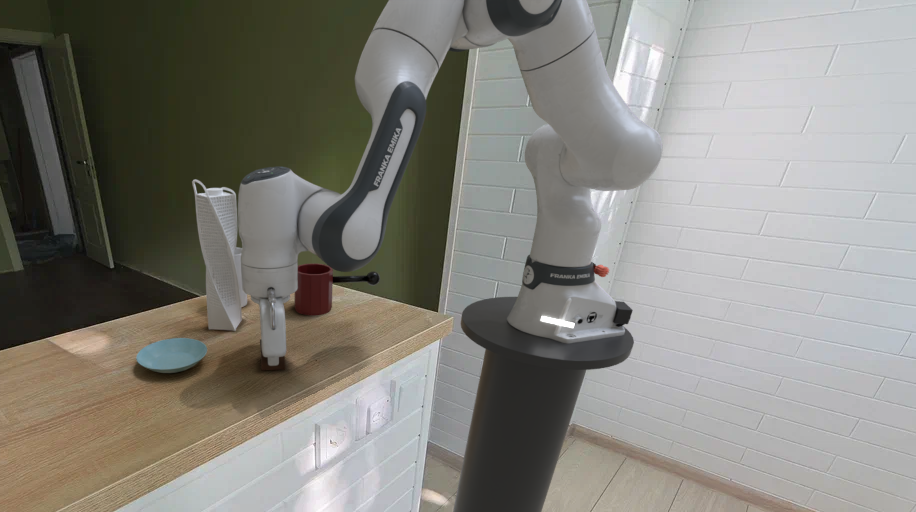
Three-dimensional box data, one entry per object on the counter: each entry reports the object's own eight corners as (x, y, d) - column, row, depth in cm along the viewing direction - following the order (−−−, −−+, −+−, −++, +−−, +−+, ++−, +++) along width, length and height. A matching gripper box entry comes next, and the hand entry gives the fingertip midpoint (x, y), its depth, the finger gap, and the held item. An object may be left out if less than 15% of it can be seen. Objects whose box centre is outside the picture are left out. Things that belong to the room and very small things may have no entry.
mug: (224, 297, 112) (220, 246, 106) (252, 299, 111) (249, 247, 105) (208, 314, 103) (203, 259, 97) (238, 316, 102) (235, 260, 96)
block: (283, 358, 85) (283, 338, 83) (285, 369, 81) (284, 348, 79) (260, 359, 84) (259, 339, 83) (261, 370, 81) (260, 349, 79)
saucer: (131, 382, 77) (129, 370, 76) (145, 350, 88) (143, 338, 87) (205, 379, 78) (204, 367, 77) (210, 347, 89) (209, 336, 88)
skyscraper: (199, 331, 95) (183, 181, 82) (211, 316, 102) (198, 176, 89) (238, 333, 94) (228, 182, 81) (248, 318, 101) (240, 177, 88)
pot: (373, 299, 111) (376, 261, 106) (382, 313, 104) (385, 272, 99) (293, 302, 109) (293, 263, 105) (296, 316, 102) (296, 275, 98)
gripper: (295, 301, 67) (296, 386, 73) (285, 259, 85) (286, 331, 91) (249, 303, 66) (254, 388, 73) (249, 260, 84) (253, 332, 91)
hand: (272, 356), depth 82 cm, fingers closed on block, 4 cm apart
